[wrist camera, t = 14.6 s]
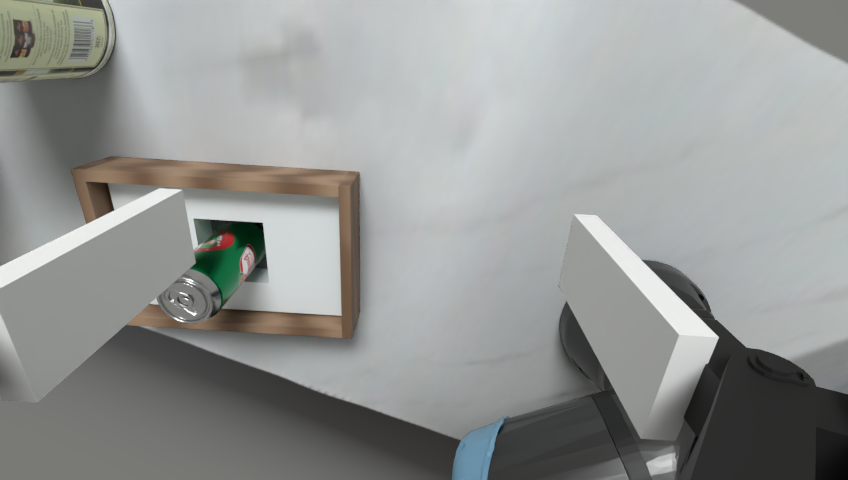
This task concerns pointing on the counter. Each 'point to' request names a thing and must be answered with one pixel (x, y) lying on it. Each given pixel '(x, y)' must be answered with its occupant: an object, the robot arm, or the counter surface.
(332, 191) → the open box
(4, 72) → the coffee can
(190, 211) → the socket plate
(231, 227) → the soda can
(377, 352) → the counter surface
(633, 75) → the counter surface
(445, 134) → the counter surface
